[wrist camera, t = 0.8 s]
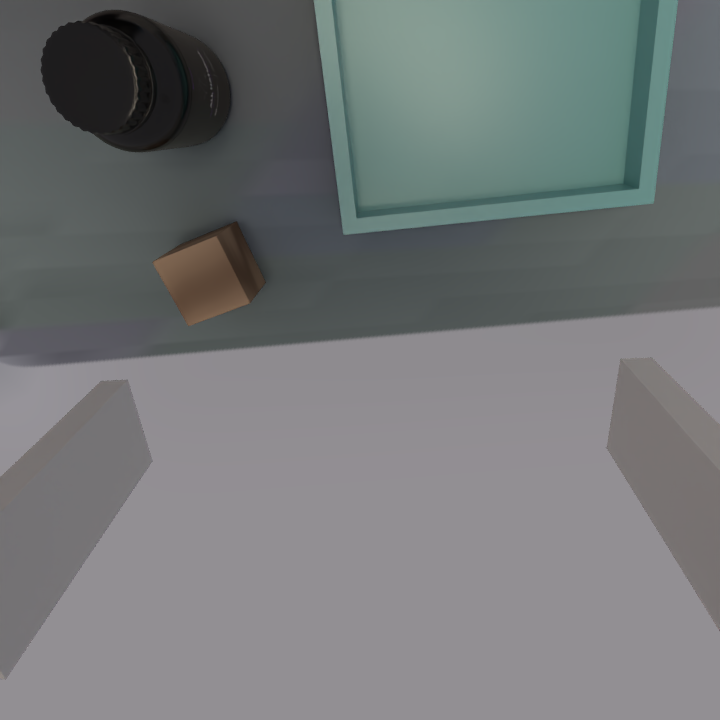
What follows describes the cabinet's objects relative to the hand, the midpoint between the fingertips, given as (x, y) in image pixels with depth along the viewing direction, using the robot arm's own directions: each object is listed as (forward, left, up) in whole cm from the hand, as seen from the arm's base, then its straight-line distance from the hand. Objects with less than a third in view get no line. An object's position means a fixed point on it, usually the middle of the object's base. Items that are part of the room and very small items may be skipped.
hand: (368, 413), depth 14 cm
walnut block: (+2, -13, -27) cm, 30 cm away
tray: (-10, +7, -27) cm, 30 cm away
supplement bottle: (-10, -13, -27) cm, 32 cm away
